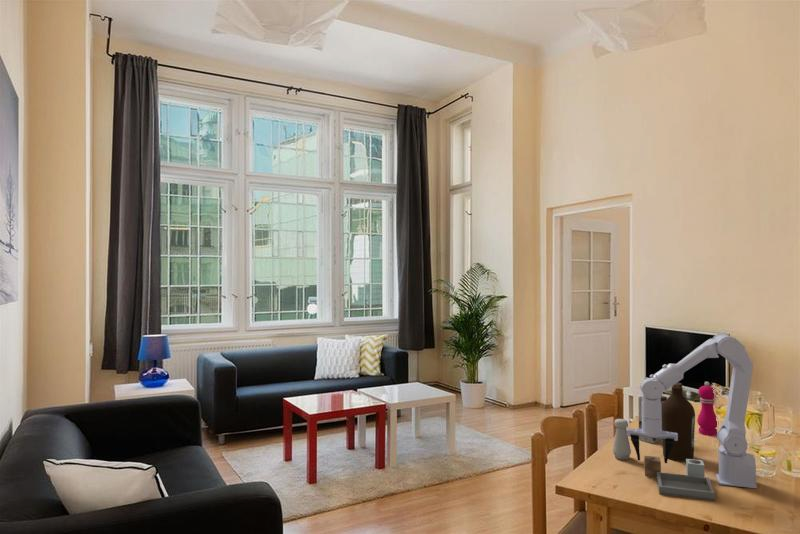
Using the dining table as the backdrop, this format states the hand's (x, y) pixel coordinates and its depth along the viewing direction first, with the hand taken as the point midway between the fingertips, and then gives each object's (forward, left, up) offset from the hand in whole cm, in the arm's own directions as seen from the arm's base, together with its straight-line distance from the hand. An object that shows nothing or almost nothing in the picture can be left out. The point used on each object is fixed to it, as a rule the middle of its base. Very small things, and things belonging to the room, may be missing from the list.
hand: (652, 460), depth 175 cm
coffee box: (-2, -38, -4) cm, 38 cm away
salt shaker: (+9, -13, -4) cm, 16 cm away
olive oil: (-9, -20, -4) cm, 22 cm away
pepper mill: (-22, -53, -4) cm, 58 cm away
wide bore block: (-12, -1, -4) cm, 13 cm away
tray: (-8, +10, -4) cm, 14 cm away
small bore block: (0, 0, -4) cm, 4 cm away
